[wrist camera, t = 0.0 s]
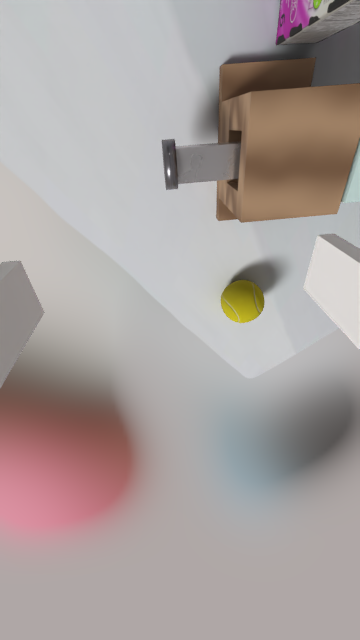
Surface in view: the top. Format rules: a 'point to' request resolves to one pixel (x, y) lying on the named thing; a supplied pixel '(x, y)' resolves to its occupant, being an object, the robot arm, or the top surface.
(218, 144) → the shaft
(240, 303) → the tennis ball
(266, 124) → the bearing block
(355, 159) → the block
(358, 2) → the candy bar box
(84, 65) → the top surface
